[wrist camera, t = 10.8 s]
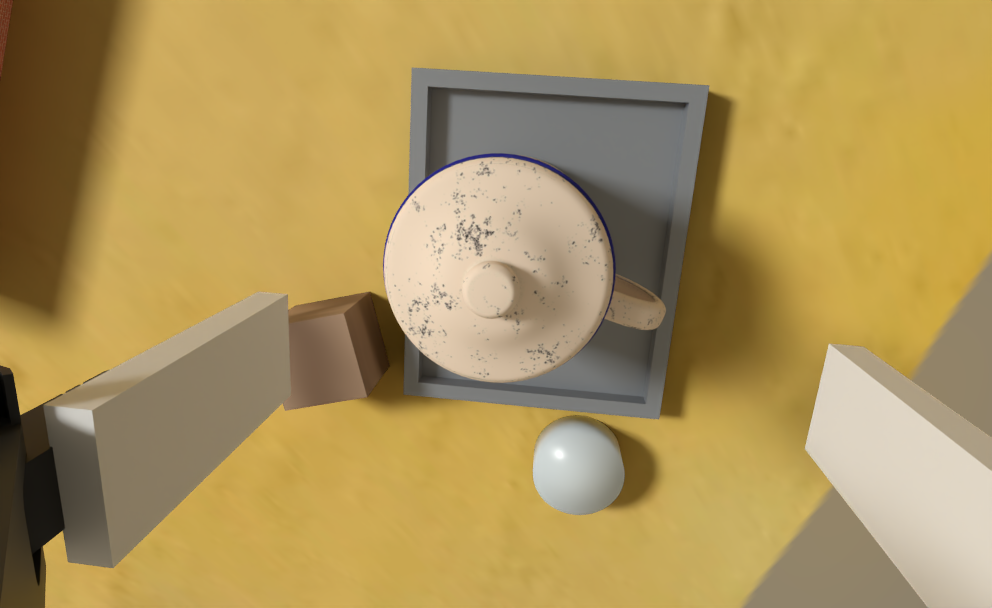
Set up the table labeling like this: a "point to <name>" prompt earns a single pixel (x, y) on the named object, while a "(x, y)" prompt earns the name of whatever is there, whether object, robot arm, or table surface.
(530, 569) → the table surface
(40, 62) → the table surface
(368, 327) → the walnut cube
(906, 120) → the table surface
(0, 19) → the house
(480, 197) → the teacup with lid
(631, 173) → the tray
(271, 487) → the table surface
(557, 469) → the white egg-shaped dome
